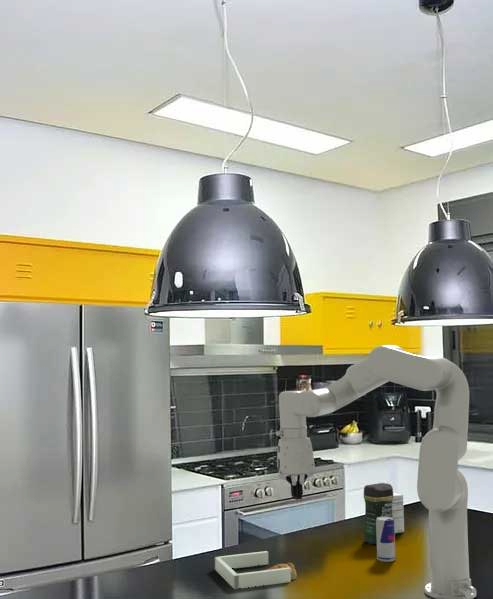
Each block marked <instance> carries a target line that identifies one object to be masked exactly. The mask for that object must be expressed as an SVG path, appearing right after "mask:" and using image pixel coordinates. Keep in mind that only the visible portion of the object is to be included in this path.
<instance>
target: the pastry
mask: <svg viewBox="0 0 493 599" xmlns="http://www.w3.org/2000/svg"><path fill="white" fill-rule="evenodd" d="M288 567H289V568H290V569H291V581H292V580H296V578H297V570H296V569H295V565H294V564H293V563H292V562H287V563H277V564H276V565H273V566H271V567H268V568H267V569H265V570H272V569H280V568H288Z"/></svg>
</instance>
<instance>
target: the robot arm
mask: <svg viewBox="0 0 493 599" xmlns="http://www.w3.org/2000/svg"><path fill="white" fill-rule="evenodd" d="M388 382H391V383H394V384H398V385H401V386H404V387H408V388H411V389H414V390H418V391H423V392H427V391H435V393H436V397H435V402H434V410H433V411H434V415H433V423H432V424H433V425H432V429H431V430H429V431H428V432H427V433H426V434H425V435H424V436H423V438H422V439H421V443H420V448H419V452H418V453H419V454H418V469H417V478H416V479H417V482H416V491H417V497H418V499H419V502H420V503H421V504H422V505H423V506H424V507H425V509H427V510H428V543H429V546H428V547H429V565H430V566H429V567H430V568H429V569H430V570H429V571H430V583H427V584H426V585H425V586H424V592H425V594H426V595H427V596H429V597H430V598H433V599H474V598H476V597H477V589H476V588H475V587H474V586H472V579H471V578H470V563H469V562H470V561H469V541H468V540H469V539H468V503H469V502H468V499H469V498H468V497H469V494H468V493H469V490H468V489H469V488H468V482H467V479H466V477H465V476H464V474H463V473H462V472H461V471H460V470H459V469H458V467H459V461H460V460H461V459H462V458H464V456H465V455H466V452H467V450H468V432H469V410H470V386H469V382H468V379H467V377H466V375H465V373H464V372H463V370H462V369H460V367H459V366H458V365H457V364H455V363H454V362H452V361H450V360H449V359H448V358H445V357H441V356H423V355H418V354H413V353H411V352H406V351H405V349H403V348H402V347H401V346H397V345H394V344H393V345H392V344H387V345H386V344H385V345H383V344H382V345H379V346H376V347H374V348H373V349H372V350H371V351H370V352H369V354H368V356H367V357H364V358H363V359H361V360H359V361H358V362H356V363H354V364H352V365H350V366H349V367H348V368H347V369H346V372H345V374H344V375H343V376H342V377H341V378H339V379H337V380H336V381H334V382H332V383H330V384H329V385H326V386H325V387H322V388H316V389H310V390H303V391H301V390H285V391H282V392H280V393H279V395H278V408H279V409H278V410H279V426H280V428H279V430H278V431H276V432H275V435H276V436H277V437H280V439H278V445H277V453H276V454H277V458H276V460H277V462H276V466H277V467H276V468H277V472H278V474H277V478H278V479H279V480H284V481H286V482H288V484H289V485H290V493H291V494H290V496H291V497H292V499H293V500H297V501H298V500H302V499H303V495H304V491H303V490H304V489H303V488H304V487H303V485H304V484H305V481H306V480H307V479H308V478H311V477H313V476H314V473H315V468H316V466H315V458H314V451H313V450H314V449H313V445H312V441H311V438H310V437H308V436H307V435H308V433H307V418H306V417H309V418H314V417H315V418H316V417H319V416H324V415H330V414H332V413H333V412H336V411H338V410H339V409H341V408H343V407H346V406H347V405H349V404H351V403H353V402H354V401H355V400H357V399H359V398H361V397H363V396H364V395H366V394H367V393H369V392H371V391H373V390H375V389H377V388H379V387H381V386H382V385H384V384H386V383H388Z"/></svg>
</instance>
